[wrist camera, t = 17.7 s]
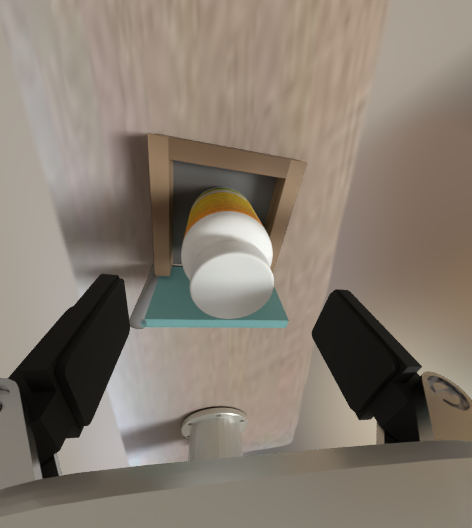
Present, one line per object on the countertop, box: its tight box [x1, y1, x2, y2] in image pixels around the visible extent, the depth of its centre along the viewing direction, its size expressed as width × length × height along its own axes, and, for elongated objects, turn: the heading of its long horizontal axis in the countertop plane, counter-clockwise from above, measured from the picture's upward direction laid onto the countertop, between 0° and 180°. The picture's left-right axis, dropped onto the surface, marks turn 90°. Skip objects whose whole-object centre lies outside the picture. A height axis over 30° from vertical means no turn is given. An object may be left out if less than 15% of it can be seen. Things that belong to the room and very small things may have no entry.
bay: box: [147, 133, 307, 276], centre depth 17 cm, size 10×10×2 cm
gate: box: [129, 265, 289, 329], centre depth 18 cm, size 1×12×7 cm, turn 82°
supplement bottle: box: [181, 187, 274, 319], centre depth 13 cm, size 5×5×10 cm
